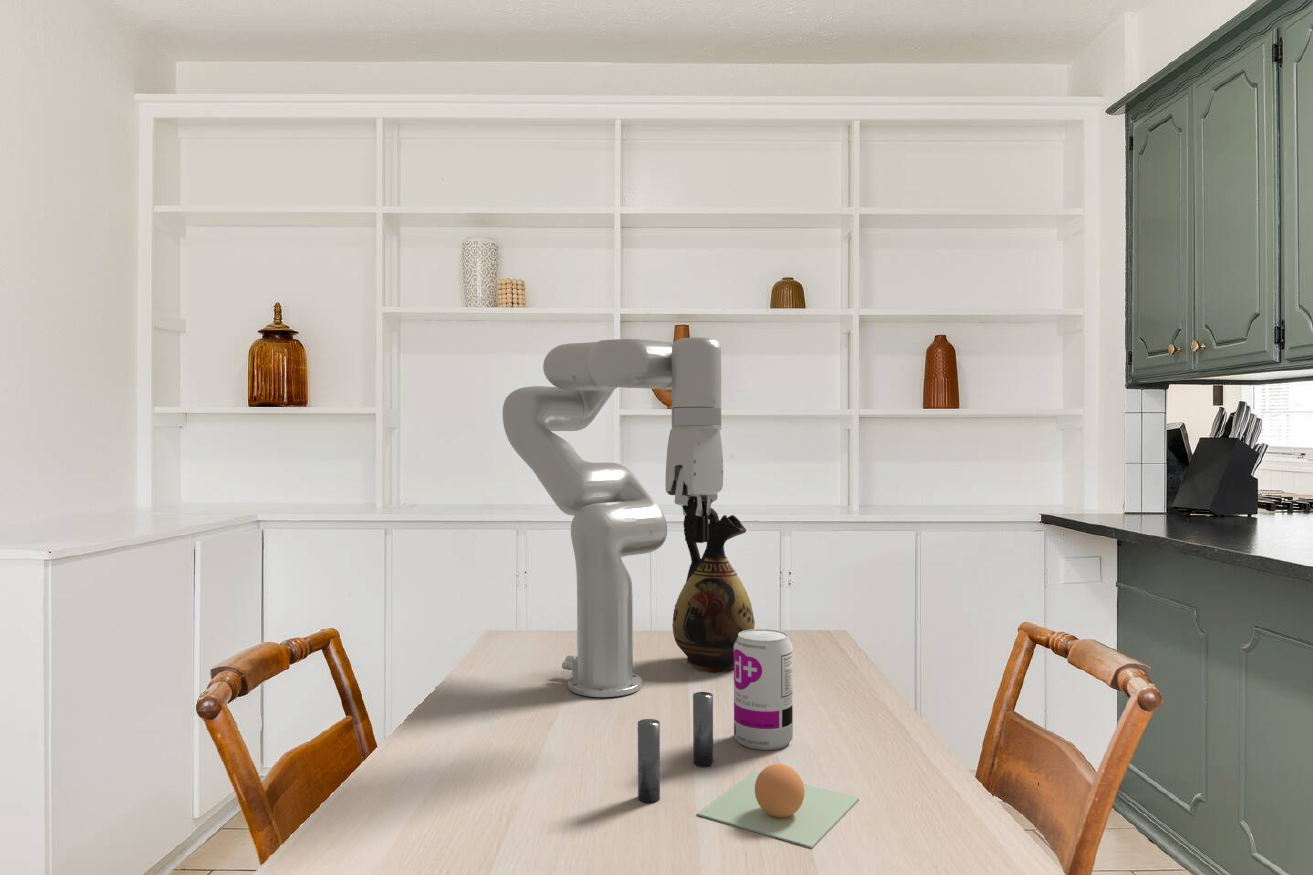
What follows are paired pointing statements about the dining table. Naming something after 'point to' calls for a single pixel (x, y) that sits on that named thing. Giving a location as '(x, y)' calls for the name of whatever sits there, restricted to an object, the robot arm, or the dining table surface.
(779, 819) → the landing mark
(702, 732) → the post
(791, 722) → the supplement can
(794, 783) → the ball
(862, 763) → the dining table surface
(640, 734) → the post
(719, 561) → the ceramic jug
